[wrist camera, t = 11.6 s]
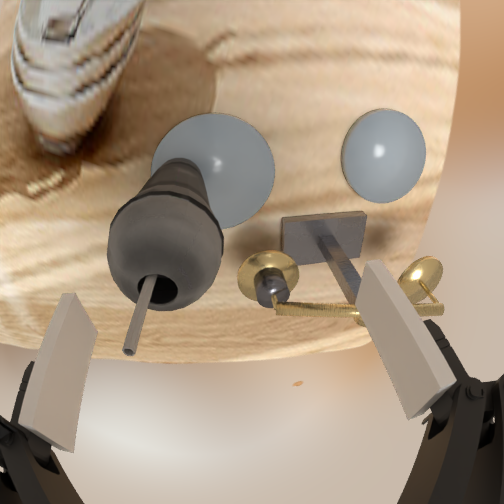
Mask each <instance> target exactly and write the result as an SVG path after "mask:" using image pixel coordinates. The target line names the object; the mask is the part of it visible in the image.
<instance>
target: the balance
mask: <svg viewBox="0 0 504 504" xmlns="http://www.w3.org/2000/svg"><path fill="white" fill-rule="evenodd" d="M366 219H367V215H366V214H365V213H364V212H363V211H356V212H342V213H330V214H318V215H306V216H295V217H284V218H282V252H281V251H277V250H266V251H262V252H258V253H256V254H254V255H252V256H250V257H249V258H248V259H246V260H245V261H244V262H243V264H242V265H241V266H240V268H239V271H238V275H237V280H238V286H239V289H240V291H241V292H242V293H243V294H244V295H245V296H246V297H248V298H249V299H251V300H254V301H258V303H259V304H260V305H261V306H263V307H266V308H274V310H276V315H281V316H305V317H353V318H354V321H355V322H356V323H357V324H358V325H360V326H363V327H366V326H365V324H364V322H363V320H362V318H361V316H360V314H359V312H358V310H357V308H356V306H355V302H356V298H357V295H358V291H359V287H360V284H361V280H362V279H361V277H360V276H359V274H358V272H357V271H356V269H355V268H354V266H353V265H352V263H351V261H350V260H349V259H352V258H359V257H360V252H361V247H362V242H363V236H364V231H365V225H366ZM322 262H327V263H328V265H329V267H330V269H331V271H332V272H333V274H334V276H335V278H336V280H337V282H338V284H339V285H340V287H341V289H342V291H343V293H344V295H345V297H346V299H347V301H348V302H349V304H334V303H301V302H286V301H287V300H288V298H289V296H290V292H291V291H292V290H293V288H294V287H295V286H296V284H297V282H298V279H299V270H298V267H297V266H298V265H306V264H314V263H322ZM442 273H443V267H442V264H441V262H440V261H439V260H438V259H437V258H435V257H433V256H426V257H423V258H420V259H418V260H416V261H415V262H413V263H412V264H411V265H410V266H409V267H408V268H407V269H406V270H405V271H404V272H403V273H402V275H401V276H400V278H399V280H398V282H397V283H398V284H399V286H400V287H401V289H402V290H403V292H404V293H405V295H406V296H407V298H408V299H409V301H410V302H411V304H412V305H413V307H414V308H415V310H416V311H417V313H418V315H419V316H420V317H421V316H442V315H443V313H444V305H443V304H442V303H439V302H438V300H437V299H436V298H435V296H434V295H433V294H432V293H431V292H432V291H433V290H434V289H435V288H436V286H437V285H438V283H439V281H440V279H441V277H442ZM427 296H428V297H429V298H430V299H431V301H432V302H433V303H428V304H414V303H417V302H419V301H421V300H423V299H424V298H426V297H427Z"/></svg>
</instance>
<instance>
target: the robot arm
mask: <svg viewBox="0 0 504 504" xmlns="http://www.w3.org/2000/svg"><path fill="white" fill-rule="evenodd" d="M355 306H356V308H357V310H358V312H359V314H360V316H361V318H362V320H363V322H364V324H365V326H366V328H367V330H368V332H369V334H370V336H371V338H372V340H373V342H374V344H375V346H376V348H377V350H378V352H379V355H380V357H381V359H382V361H383V363H384V365H385V368H386V370H387V372H388V374H389V377H390V379H391V381H392V383H393V386H394V388H395V390H396V393H397V395H398V397H399V400H400V401H401V404H402V407H403V409H404V412H405V414H406V416H407V419H408V420H410V419H413V418H415V417H417V416H420V415H422V414H424V413H425V412H426V411H427V410H428V409H429V408H430V409H431V411H432V413H431V414H429V415H428V416H427V417H426V418H425V419H424V420H423V422H422V424H425V423H426V422H427V421H428V424H427V427H426V431H425V434H424V437H423V440H422V443H421V446H420V449H419V452H418V455H417V458H416V461H415V463H414V466H413V468H412V471H411V473H410V476H409V478H408V481H407V483H406V485H405V488H404V490H403V492H402V494H401V496H400V499H399V501H398V503H397V504H504V374H503V375H502V376H501V377H500V378H499V379H498V380H497V381H490V382H481V381H480V380H478V379H476V378H471V377H469V376H468V374H467V373H466V371H465V369H464V368H463V366H462V364H461V362H460V360H459V359H458V357H457V355H456V353H455V352H454V350H453V349H452V347H451V346H450V343H449V342H448V340H447V339H445V335H444V334H443V332H442V331H441V329H440V327H439V326H438V325H436V324H435V323H434V322H433V321H432V320H431V319H429V320H425V321H422V319H421V318H420V316H419V315H418V313H417V311H416V310H415V308H414V307H413V305H412V304H411V302H410V301H409V299H408V298H407V296H406V295H405V293H404V292H403V290H402V289H401V287H400V286H399V284H398V283H397V282H396V280H395V279H394V277H393V276H392V274H391V273H390V272H389V270H388V269H387V267H386V266H385V265H384V263H383V262H382V260H381V259H377V260H370V261H366V264H365V268H364V272H363V276H362V280H361V284H360V287H359V291H358V295H357V298H356V302H355ZM97 333H98V331H97V330H96V328H95V326H94V325H93V323H92V321H91V320H90V318H89V316H88V315H87V313H86V311H85V310H84V308H83V306H82V304H81V302H80V301H79V299H78V297H77V295H76V293H64V294H62V296H61V298H60V300H59V303H58V305H57V307H56V309H55V312H54V314H53V316H52V319H51V321H50V324H49V326H48V328H47V331H46V333H45V336H44V339H43V341H42V344H41V347H40V349H39V352H38V355H37V358H36V361H35V362H33V361H31V362H30V364H29V365H28V367H27V368H26V370H25V372H24V375H23V378H22V383H21V385H20V388H19V390H20V391H19V392H18V395H17V398H16V402H15V406H14V410H13V414H12V418H11V421H10V422H9V421H7V420H6V419H4V418H3V417H2V416H1V415H0V466H1V467H3V468H4V472H3V473H2V472H0V504H84V503H83V501H82V500H81V498H80V497H79V495H78V493H77V492H76V490H75V489H74V487H73V485H72V484H71V482H70V480H69V479H68V477H67V475H66V473H65V472H64V470H63V468H62V466H61V464H60V463H59V461H58V459H57V457H56V455H55V453H54V452H53V451H52V450H51V446H54V447H56V448H58V449H60V450H63V451H67V452H71V453H74V446H75V438H76V431H77V424H78V418H79V411H80V406H81V401H82V396H83V390H84V386H85V381H86V377H87V372H88V368H89V364H90V360H91V356H92V352H93V348H94V344H95V340H96V337H97ZM493 417H494V418H495V423H494V422H493Z"/></svg>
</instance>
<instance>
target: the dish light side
mask: <svg viewBox="0 0 504 504" xmlns="http://www.w3.org/2000/svg"><path fill="white" fill-rule="evenodd" d="M425 158H426V147H425V141H424V137H423V135H422V132H421V130H420V128H419V127H418V125H417V124H416V123H415V122H414V121H413V120H412V119H411V118H410V117H408V116H407V115H405V114H403V113H400V112H398V111H394V110H390V109H377V110H373V111H371V112H368V113H366V114H365V115H363V116H361V117H360V118H359V119H358V120H357V121H356V122H355V123H354V124H353V125H352V127H351V128H350V130H349V131H348V133H347V135H346V138H345V140H344V143H343V147H342V154H341V162H342V169H343V173H344V175H345V178H346V180H347V182H348V183H349V185H350V186H351V187H352V188H353V189H354V190H355V191H356V192H357V193H358V194H359V195H360V196H361V197H363V198H364V199H366V200H368V201H371V202H374V203H389V202H393V201H395V200H398V199H399V198H401V197H403V196H404V195H406V194H407V193H408V192H409V191H410V190H411V189H412V188H413V187H414V186H415V184H416V183H417V181H418V180H419V178H420V176H421V173H422V171H423V168H424V164H425Z"/></svg>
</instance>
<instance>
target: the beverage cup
mask: <svg viewBox="0 0 504 504" xmlns="http://www.w3.org/2000/svg"><path fill="white" fill-rule="evenodd" d="M223 247H224V236H223V233H222V231H221V228H220V225H219V222H218V220H217V219H216V218H215V216H214V214H213V212H212V210H211V208H210V204H209V200H208V196H207V191H206V187H205V183H204V179H203V177H202V174H201V171H200V169H199V168H198V166H197V165H196V164H195V163H194V162H192V161H191V160H189V159H185V158H173V159H170V160H168V161H166V162H165V163H164V164H162V165H161V167H159V168H158V169H157V170H156V172H155V173H154V174H153V175H152V176H151V178H150V179H149V180H148V182H147V183H146V184H145V185H144V187H143V188H142V189H141V190H140V192H139V193H138V194H137V196H135V197H134V198H132V199H131V200H129V201H128V202H127V203H126V204H125V205H123V206H122V207H121V208H120V209H119V210H118V212H117V213H116V215H115V217H114V219H113V221H112V222H111V224H110V232H109V240H108V248H107V259H108V264H109V268H110V271H111V275H112V277H113V279H114V281H115V283H116V284H117V286H118V287H119V289H120V290H121V291H122V293H123V294H124V295H125V296H127V297H128V298H129V299H130V300H131V301H133V302H134V303H136V307H135V310H134V313H133V317H132V320H131V323H130V326H129V329H128V332H127V336H126V339H125V342H124V346H123V349H122V351H123V353H124V354H125V355H127V356H134V355H135V353H136V349H137V345H138V341H139V337H140V333H141V330H142V326H143V322H144V319H145V315H146V312H147V309H151V310H156V311H173V310H177V309H181V308H184V307H186V306H188V305H190V304H191V303H193V302H195V301H197V300H198V299H199V298H200V297H201V296H202V295H203V294H204V293H205V292H206V291H207V290H208V289H209V288H210V287H211V285H212V283H213V282H214V280H215V277H216V275H217V272H218V270H219V267H220V264H221V258H222V255H223Z"/></svg>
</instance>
